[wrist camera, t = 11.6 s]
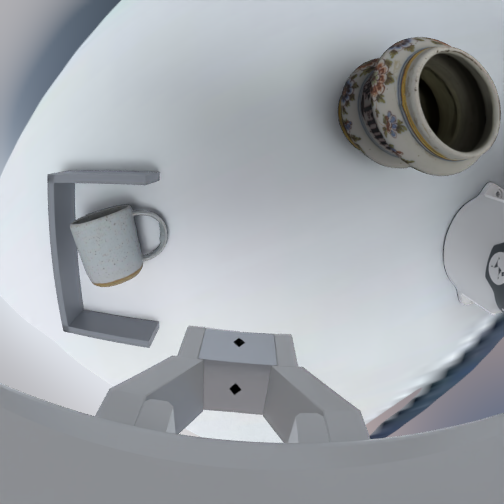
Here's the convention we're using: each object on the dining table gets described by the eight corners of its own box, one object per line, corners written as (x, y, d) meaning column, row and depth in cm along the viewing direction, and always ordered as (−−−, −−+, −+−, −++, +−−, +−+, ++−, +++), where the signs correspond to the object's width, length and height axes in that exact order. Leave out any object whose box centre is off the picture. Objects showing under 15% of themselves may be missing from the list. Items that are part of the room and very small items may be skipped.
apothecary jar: (321, 152, 35) (379, 155, 18) (336, 58, 31) (396, -4, 14) (411, 175, 36) (506, 199, 19) (424, 87, 32) (518, 63, 15)
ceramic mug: (105, 271, 40) (80, 295, 33) (87, 213, 37) (57, 227, 30) (177, 257, 39) (162, 281, 32) (161, 193, 37) (140, 204, 30)
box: (159, 172, 36) (145, 175, 31) (159, 327, 42) (149, 347, 38) (68, 170, 36) (47, 174, 31) (79, 314, 42) (63, 331, 37)
